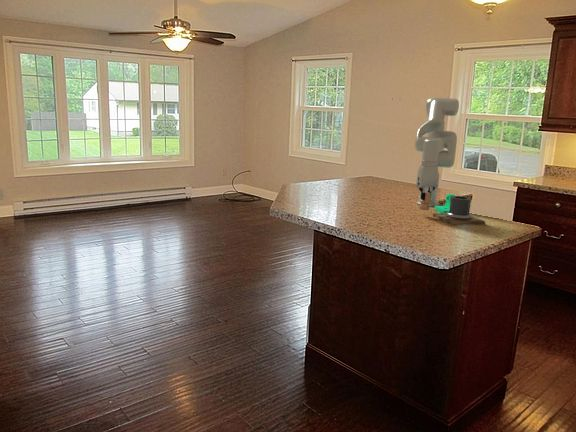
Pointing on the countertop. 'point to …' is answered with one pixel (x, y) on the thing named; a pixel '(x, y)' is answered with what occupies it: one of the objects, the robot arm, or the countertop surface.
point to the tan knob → (425, 201)
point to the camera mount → (446, 207)
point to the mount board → (453, 221)
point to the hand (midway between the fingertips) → (425, 199)
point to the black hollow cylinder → (459, 208)
